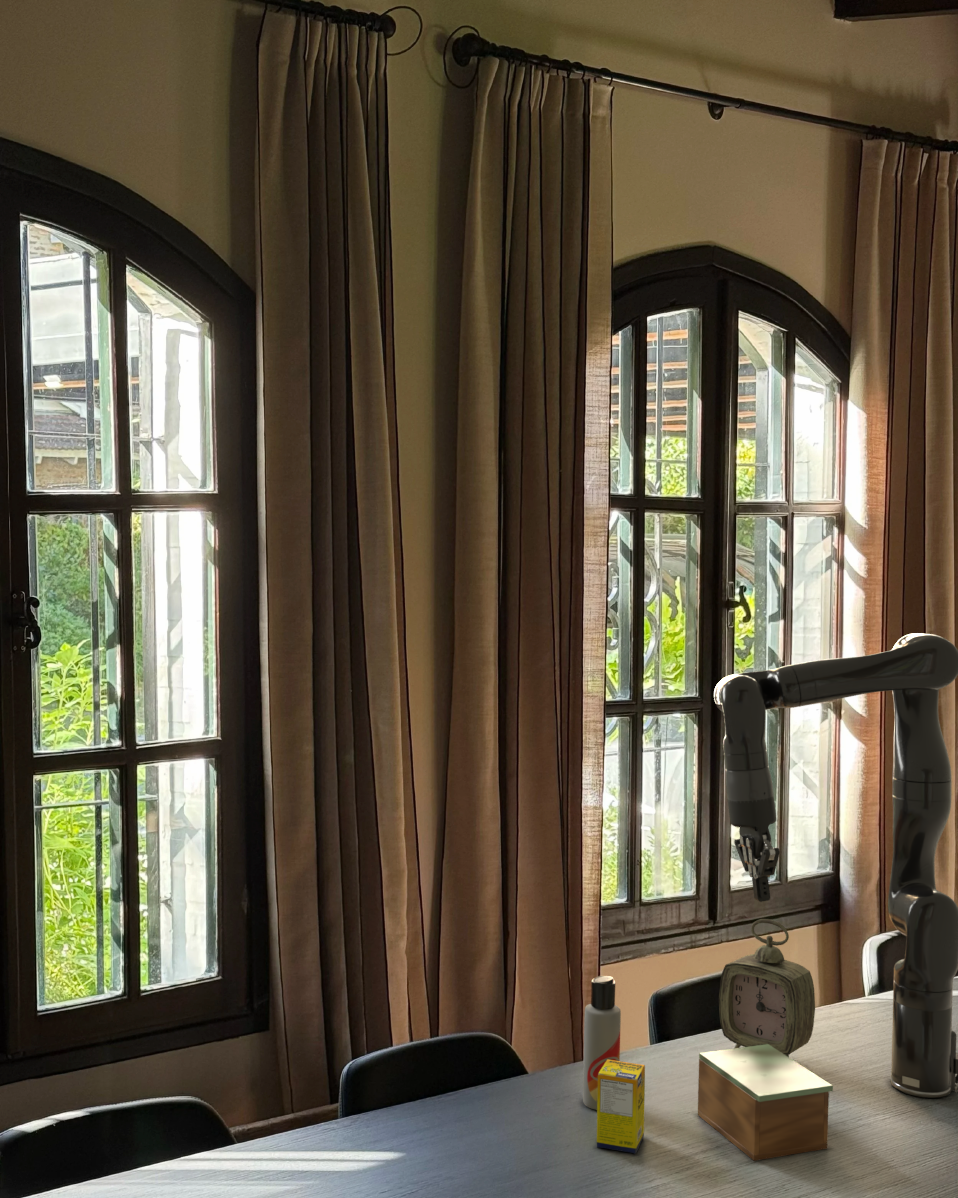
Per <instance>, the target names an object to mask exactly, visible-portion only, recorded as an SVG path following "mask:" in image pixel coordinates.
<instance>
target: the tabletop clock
mask: <svg viewBox="0 0 958 1198" xmlns="http://www.w3.org/2000/svg"><path fill="white" fill-rule="evenodd" d="M759 924H769V925H773V926H776V927H778V928H779V929H781V930H782V931H783V932H784V934H785V939H784V940H780V941H776V940H774V938H773V936H772V935H767V936H766V938H763V937H761V936H760V935H758V934H757V933H756V932H755V927H756V926H758V925H759ZM750 930H751V934H752V935H753V937H754V938H755V939H756V940H757V941H759V942H761V943H763V944H764V945H760V946H759V947H758V948H756V949H755V951H754V953H753V954H748V955H747V954H746V955H744V956H742V957H739V958H737V959H735V960H733V961H731V962H728V963H726V964H725V965H724V967H723V970H722V972H721V975H720V982H719V993H718V1007H719V1008H718V1011H719V1012H718V1013H719V1014H718V1015H719V1023H720V1028H721V1031H722V1034H723V1036H724V1037H725V1038H726V1039H727V1040H729V1041H730V1042H732V1043H734V1044H735V1046H734V1048H741V1047H750V1046H757V1045H765V1044H769V1045H770V1046H772V1047H773V1048H775V1049H777V1050H778V1051H780V1052H781V1053H783V1054H784V1055H786V1056H787V1057H789V1058H790V1054H793V1053H794V1052H796V1051H797V1050H799V1049H800V1048H802V1047H803V1046H805V1045H807V1044H808V1043H809V1041H810V1040H811V1037H812V1035H813V1030H814V1023H815V1014H816V996H815V995H816V994H815V985H814V980H813V976H812V974H811V971H810V970H809V969H808V968H806V967H805V966H803V965H802V964H799V963H796V962H793V961H791V960H788V959H785V956H784V955H783V952H782V951H781V949H780V948H779V947H778V946H782V945H785V944H786V943H788V941H789V938H790V937H789V932H788V929H787V928H786V927H785V926H784V925H783V924H781V923H780V922H778V921H776V920H774V919H773V920H772V919H769V918H761V919H757V920H756V921H754V922H753V923H752V925H751V929H750Z"/></svg>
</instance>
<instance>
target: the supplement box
mask: <svg viewBox="0 0 958 1198" xmlns="http://www.w3.org/2000/svg"><path fill="white" fill-rule="evenodd" d="M645 1089H646V1065H645V1064H641V1063H633V1062H626V1061H615V1060H609V1059H607V1061H606V1062H605V1064H604V1065H603V1067H602V1068H601V1070H600V1071H599V1074H598V1096H597V1110H596V1147H597V1148H601V1149H607V1150H612V1151H619V1152H626V1153H630V1154H635V1155H636V1154H637V1152H638V1150H639V1148H640V1145H641V1144H642V1141H643V1139H644V1137H645V1097H646V1095H645V1092H646V1090H645Z"/></svg>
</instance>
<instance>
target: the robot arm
mask: <svg viewBox="0 0 958 1198" xmlns="http://www.w3.org/2000/svg"><path fill="white" fill-rule="evenodd" d="M957 678H958V648H957V647H956V645H954V644H953V642H952V641H950V640H948V639H947V638H945V637H942V636H940V635H937V634H930V633H918V632H917V633H909V634H906V635H904V636H902V637H901V638H899V639H898V640H897V642H896V643H895V644H894V646H893V648H892V649H891V650H887V651H883V652H877V653H873V654H867V655H860V656H850V657H837V658H826V659H818V660H811V661H805V662H799V663H795V664H788V665H784V666H781V667H777V668H773V669H767V670H756V671H748V672H740V673H733V674H730V675H727V676H725V677H723V678H722V679H721V680H720V681H719V682H718V683H717V684H716V686H715V688H714V691H713V698H714V699H713V700H714V702H715V704H716V707H717V708H718V709H719V710H720V711H721V712H722V713H723V718H724V719H723V720H724V730H725V736H724V738H723V743H722V748H723V759H724V768H725V788H726V789H725V790H726V800H727V806H728V807H727V808H728V815H729V816H728V817H729V823H730V825H731V826H733V827H736V828H739V831H738V832H739V833H738V834H739V838H735V839H734V841H733V843H734V846H735V848H736V851H737V854H738V856H739V859H740V862H741V864H742V867H743V870H744V871H745V873H747V872H748V876H749V877H750V878H751V882H752V890H753V898H754V900H756V901H757V902H760V903H762V902H767V901H770V900H771V891H770V883H769V878H770V877H771V876H774V875H775V872H776V869H777V865H778V862H779V857H780V853H781V850H780V849H779V847H777V846H776V847H773V846H772V845H773V843H772V834H771V832H770V829H769V827H770V825H772V824H773V825H774V824H775V823H776V822H777V812H776V804H775V795H774V786H773V779H772V775H771V770H770V766H769V765H770V764H769V757H768V749H767V742H766V718H767V717H766V715H767V713H766V711H767V710H772V709H792V708H800V707H806V706H810V705H816V704H821V703H825V702H831V701H836V700H840V699H841V700H842V699H846V698H851V697H856V696H860V695H866V694H873V693H881V692H891V691H892V698H893V712H894V714H893V715H894V724H893V725H894V726H893V753H892V754H893V756H892V757H893V760H892V761H893V763H892V861H891V871H890V878H889V887H888V897H887V913H888V917H889V920H890V922H891V924H892V926H893V927H894V928H895V929H896V930H897V931H898V932H899V933H900V934H902V935H903V936H905V938H906V942H905V951H904V952H905V954H904V958H902V959H900V960H897V961H896V962H895V964H894V966H893V985H892V987H893V988H892V989H893V992H892V994H893V995H892V1027H891V1028H892V1030H891V1033H892V1034H891V1068H890V1069H891V1070H890V1072H891V1073H890V1076H889V1077H890V1079H889V1080H890V1081H889V1082H890V1084H891V1086H892V1087H893V1088H895V1089H896V1090H898V1091H900V1092H902V1093H905V1094H907V1095H910V1096H914V1097H919V1098H927V1099H928V1098H929V1099H935V1098H936V1099H937V1098H944V1097H947V1096H948V1095H950V1094H951V1092H952V1091H956V1085H957V1084H958V1052H957V1033H956V1031H954V1030H953V998H954V997H953V995H954V994H953V993H954V979H955V976H956V974H957V972H958V905H957V903H956V902H955V900H954V899H953V898H951V897H950V896H949V895H947V894H945V893H943V892H941V891H939V890H937V886H936V871H935V869H936V868H935V859H936V851H937V847H938V845H939V841H940V839H941V837H942V835H943V832H944V830H945V827H946V825H947V823H948V820H949V817H950V814H951V809H952V785H953V784H952V782H953V781H952V767H951V761H950V757H949V753H948V748H947V745H946V743H945V739H944V736H943V732H942V728H941V724H940V723H941V722H940V717H939V695H940V694H939V692H940V690H941V689H943V688H945V687H948V686H949V685H950V684H952V683H953V682H954V681H955V680H956V679H957Z"/></svg>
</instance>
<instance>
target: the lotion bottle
mask: <svg viewBox="0 0 958 1198" xmlns="http://www.w3.org/2000/svg"><path fill="white" fill-rule="evenodd" d="M590 983H591V984H590V987H591V988H590V1003H588V1004H586V1006H585V1007H584V1020H583V1021H584V1023H583V1026H584V1027H583V1064H582V1065H583V1069H582V1102H583V1105H585V1106H586V1107H587V1108H588V1109H591V1110H595V1111H597V1096H598V1074H599V1071H600V1070H601V1068H602V1067H603V1065H604V1064H605V1062H606V1061H607V1059H609V1060H615V1061H620V1059H621V1024H622V1023H621V1021H622V1020H621V1019H622V1018H621V1016H622V1013H621V1008H620V1007H619V1006H618V1005H616V980H615V979H614V977H613V976H611V975H597V976H595V977H594V978H592V979H591V981H590Z"/></svg>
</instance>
